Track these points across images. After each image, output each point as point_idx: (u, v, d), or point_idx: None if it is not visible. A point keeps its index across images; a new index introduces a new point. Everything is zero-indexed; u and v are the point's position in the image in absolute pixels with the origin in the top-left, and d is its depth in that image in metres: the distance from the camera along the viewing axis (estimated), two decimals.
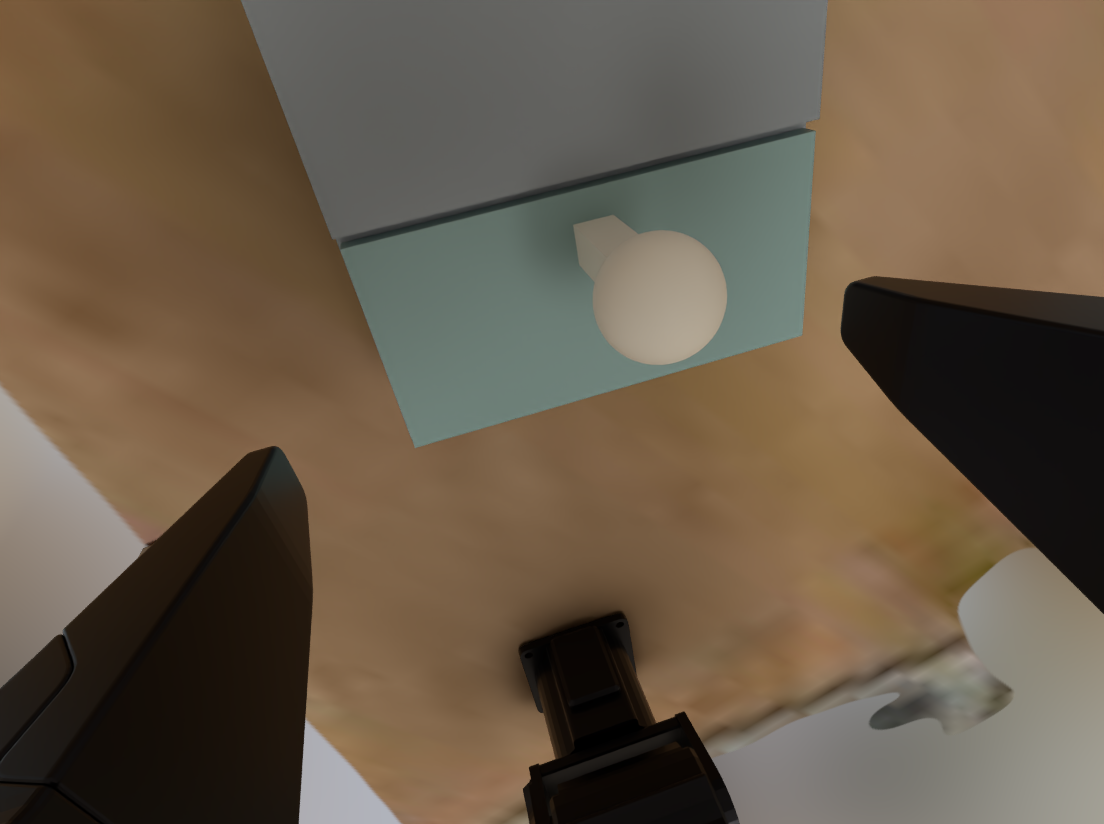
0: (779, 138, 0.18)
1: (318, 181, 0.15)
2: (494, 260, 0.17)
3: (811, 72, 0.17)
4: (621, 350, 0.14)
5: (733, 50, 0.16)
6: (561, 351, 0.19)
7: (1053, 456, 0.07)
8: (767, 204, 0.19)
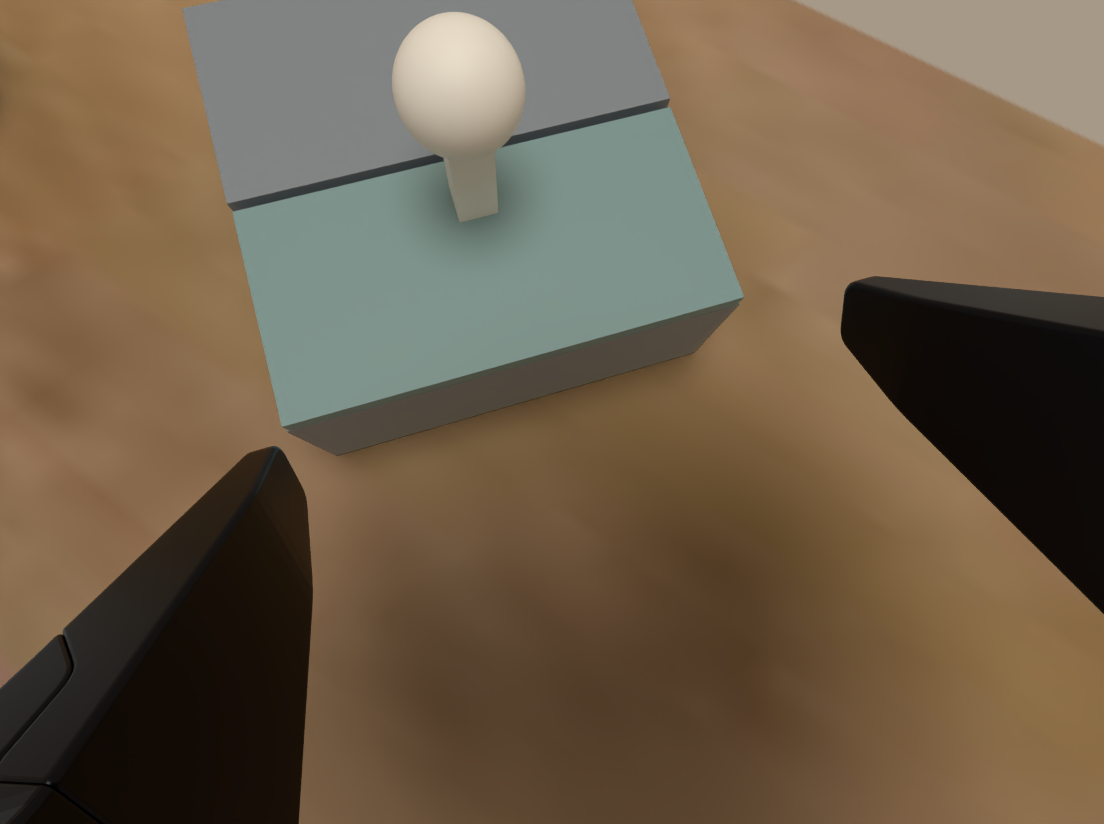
0: None
1: (223, 159, 0.18)
2: (374, 219, 0.18)
3: (647, 67, 0.20)
4: (412, 109, 0.13)
5: (570, 58, 0.20)
6: (450, 311, 0.18)
7: (1053, 456, 0.07)
8: (645, 165, 0.19)
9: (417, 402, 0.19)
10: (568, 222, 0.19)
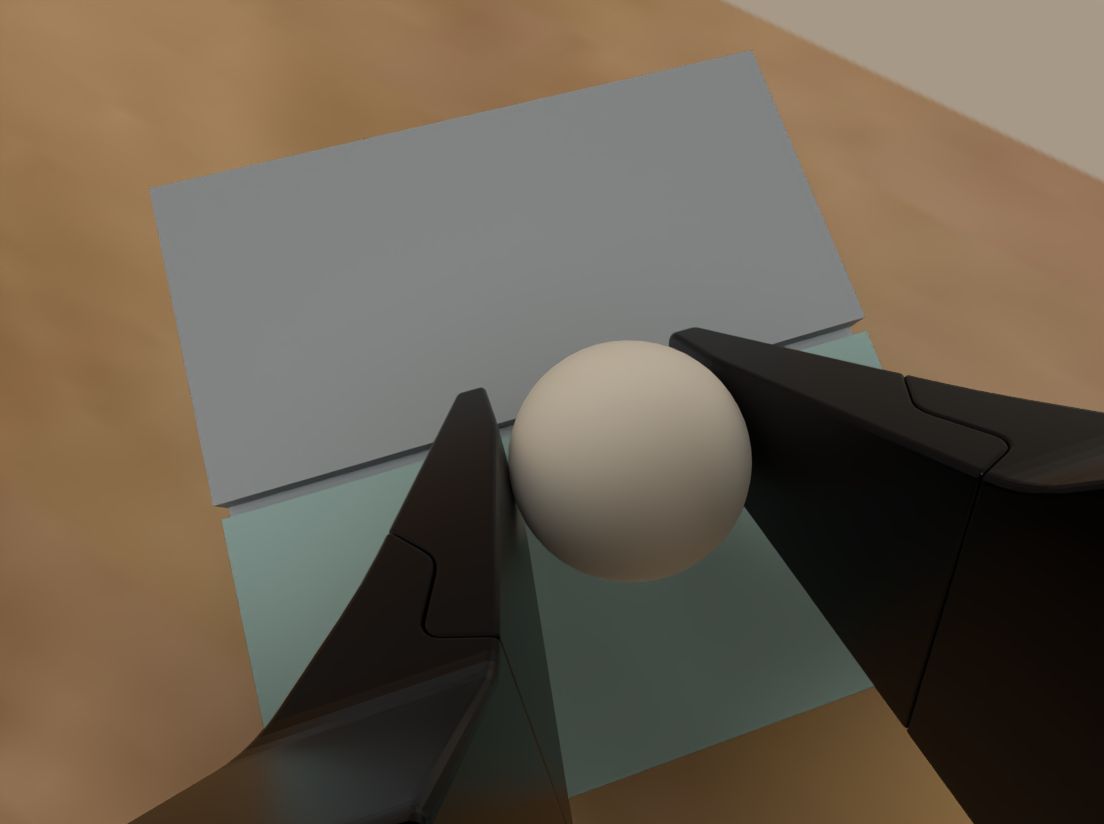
0: (819, 345, 0.13)
1: (208, 432, 0.12)
2: None
3: (829, 269, 0.14)
4: (556, 541, 0.07)
5: (718, 257, 0.14)
6: (558, 680, 0.12)
7: (825, 532, 0.07)
8: None
9: None
10: None
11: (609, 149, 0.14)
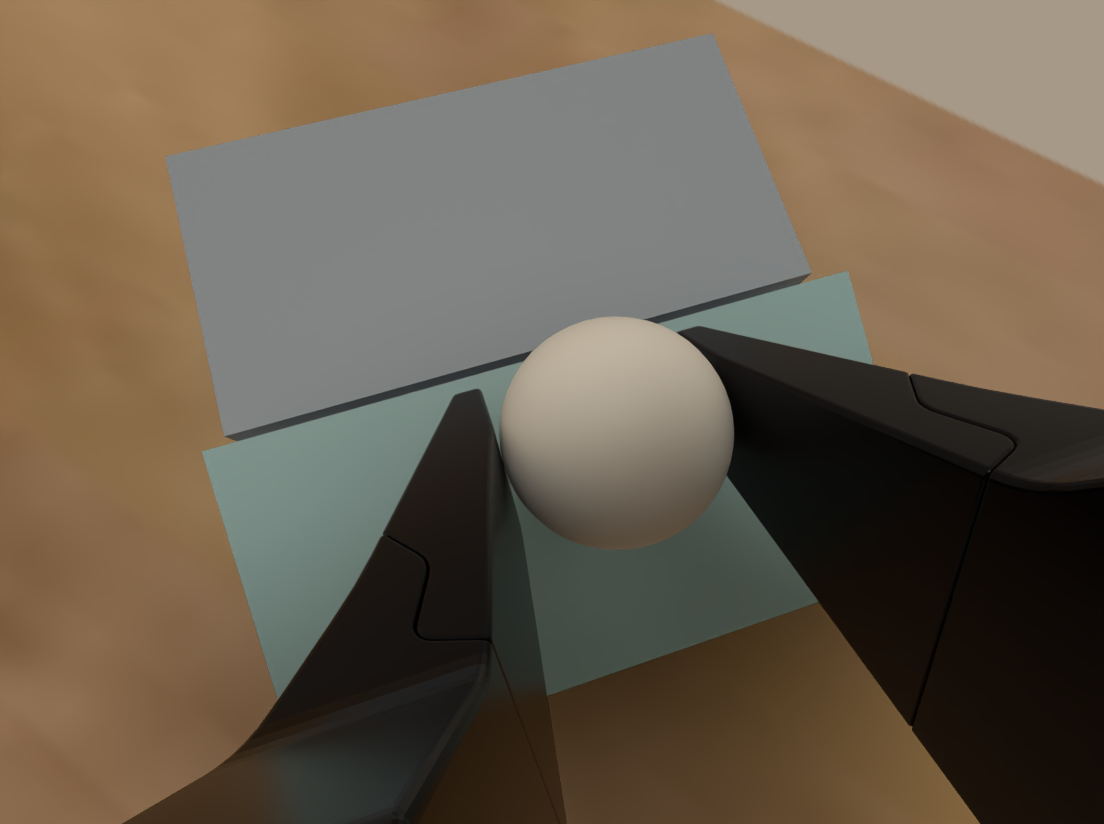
0: (800, 284, 0.13)
1: (219, 371, 0.14)
2: (419, 459, 0.12)
3: (780, 230, 0.15)
4: (547, 517, 0.07)
5: (679, 218, 0.15)
6: (534, 599, 0.13)
7: (829, 530, 0.07)
8: None
9: None
10: None
11: (581, 122, 0.15)
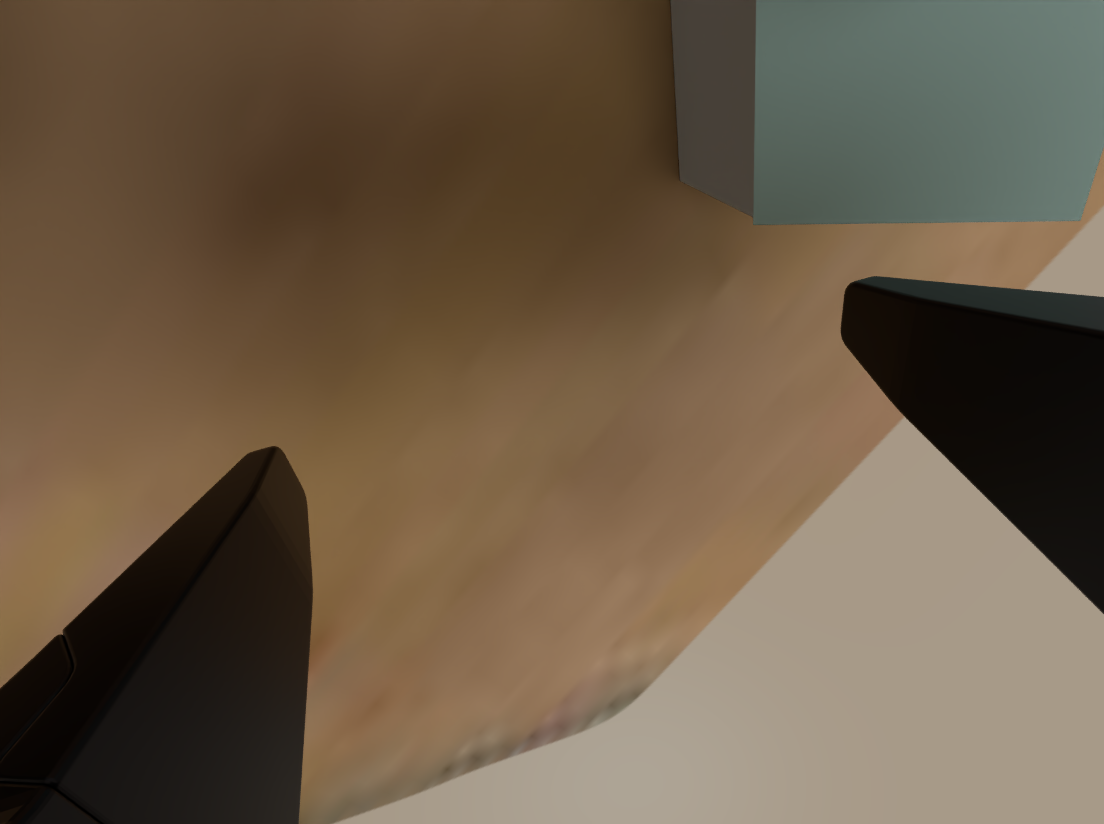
0: (1094, 167, 0.13)
1: None
2: None
3: None
4: None
5: None
6: None
7: (1053, 456, 0.07)
8: (995, 153, 0.13)
9: None
10: (955, 2, 0.12)
11: None
